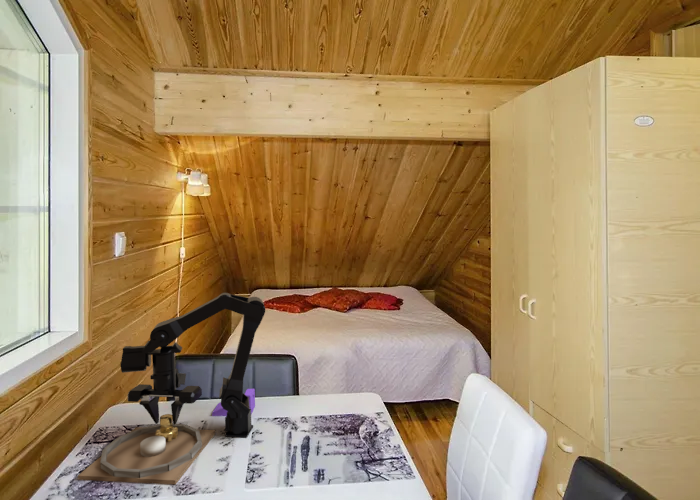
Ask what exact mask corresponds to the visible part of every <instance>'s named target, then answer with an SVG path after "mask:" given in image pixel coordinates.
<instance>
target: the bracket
mask: <svg viewBox="0 0 700 500" xmlns="http://www.w3.org/2000/svg"><path fill="white" fill-rule="evenodd" d="M255 391H256V390H255V388H247V389H246V390H245V393H244V394H245V395H246V396H247V397H249V407H250V409H251V415H252V414H253V412H254V409H255V408H256V392H255ZM227 412H228V411H227V410H225V409H223V407H222V406H221V401H220V402H218V403H217V405H216V406H215V408H214V409H213V411H212V412H211V415H212V417H226V416H227Z"/></svg>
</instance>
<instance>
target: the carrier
mask: <svg viewBox="0 0 700 500" xmlns="http://www.w3.org/2000/svg"><path fill="white" fill-rule="evenodd" d="M173 427H174V428H175V427H177V428H178V435H177V438H174V439H172V441H169V442H168V441H166V440H165V437H163V436H155V434H156V431H157V430H160V424H154V425H150V426H145V427H142V426H141V427H140V426H136V427H134V428H133V429H132V430H131V431H129V432H127V433H125V434H123V435H120V436H118V437H116V438H115V439H114V440H113V441H112V442H110V443H109V444H108V445H107V446H105V447H104V448H103V449H102V450H101V456H100V457H98V458H97V459H96V460H95V461H94V462H92V463H91V464H90V465H89V466H87V467H86V468H85V469H84V470H82V471H81V472H80V474H78V475H77V480H78V481H79V480H80V481H82V480H83V481H97V482H99V481H101V482H115V483H116V482H118V483H120V482H121V483H135V484H136V483H138V484H139V483H140V484H157V485H177V483H178V482H179V480H180V479H182V477H183V476H184V474H185V473H186V472H187V470H189V468H190V467H191V466H192V464H193V463H194V461H196V459H197V458H199V455H201V453H202V452H203V450H205V448H206V447H207V445H208V444H209V443H210V441H211V440H212V439H213V438H214V436H215V435H216V433H217V431H216V430H215V429H197V428H194V427H192V426H190V425H188V424H183V423H176V424H175V425H174V424H173Z"/></svg>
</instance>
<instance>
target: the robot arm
mask: <svg viewBox="0 0 700 500" xmlns="http://www.w3.org/2000/svg"><path fill="white" fill-rule="evenodd" d="M223 310H229V311H231V312H234V313H236V314H239V315H243V316H242V329H241V333H240V338H239V341H238V344H237V348H236V353H235V355H234V360H233V362H232V367H231V371H230V374H229V375H228V378H227V377H224V376H223V377H222V384H221V387H220V388H219V394H218V395H219V396H218V399H219V400H220V402H221V406H222V407H223V409H225V410H227V411H228V412H227V416H224V417H225V418H224V420H225V421H224V422H225V424H224V425H225V430H224V431H225V434H224V436H225V437H229V438H230V437H233V438H247V437H248V436H249V434H250V433H251V432H252V430H253V429H254V425H253V424H252V414H251V409H250V407H249V397H247V396H246V395H245V393H244V378H245V374H246V369H247V366H248V362H249V358H250V355H251V350H252V347H253V342H254V339H255V336H256V335H255V334H256V333H257V330H258V329H259V328H260V327H259V326H260V325H261V323H262V321H263V318H264V316H265V313H266V307H265V304H264V301H263V300H262V298H260V297H258V296H251V297H247V296H242V295H236V294H231V293H228V292H222V293H220V294H219V295H218V296H216V297H214V298H213V299H211V300H209V301H206V302H205V303H203V304H201V305H199V306H197V307H195V308H194V309H192V310H190V311H188V312H186V313H185V314H182V315H180V316H177V317H172V318H169V319H166V320H164V321H160V322H158V323H157V324H156V325H155V326H154V328H153V329H152V330H151V332H150V335H149V340H147V342H146V343H145V344H144V345H137V346H131V345H126V346H124V347H123V348H122V354H121V359H120V360H121V361H120V365H119V366H120V371H121V373H134V372H144V371H146V370H147V367H148V368H149V367H151V364H152V374H151V375H150V378H149V379H150V380H152V383H153V386H152V385H151V384H137V385H136V386H134V387H133V388H131V389H130V390H128V393H127V402H129V403H130V402H131V403H137V402H139V401H140V402H139V405H140V406H141V405H142V406H143V408H144V409H145V411H147V412H148V414H149V416H150V418H151V419H152V420H153V422H154V423H155V424H154V425H159V424H160V411H159V409H160V407H159V401H160V398H174V401H173V402H172V403H171V404H170V407H171V408H170V409H171V415H172V420H173V424H174V425H175V424H178V421H179V417H180V414H181V411H182V408H183V406H184V404H194V403H195V402H196V401H197V400H198V399H200V398H201V397H202V395H203V394H202V393H203V391H202V390H203V389H202V388H201V386H200V385H186V387H184V388H183V389H177V388H180V387H181V385H185V384H186V379H187V378H186V377H187V373H184V372H183V373H179V369H178V368H176V354H177V353H178V354H179V353H181V352H182V351H183V346H181V345H180V344H178V342H177V341H175V340H176V339H178V338H179V337H181V335H182V334H184V333H185V332H186V331H187V330H189V329H190V328H192V327H195V326H196V325H199V323H201V322H203V321H205V320H207V319H209V318H210V317H213V316H215V315H216V314H218V313H220V312H222V311H223ZM174 341H175V342H174ZM173 342H174V343H173ZM172 343H173V344H172ZM171 344H172V345H171Z"/></svg>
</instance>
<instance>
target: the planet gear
mask: <svg viewBox="0 0 700 500" xmlns="http://www.w3.org/2000/svg"><path fill="white" fill-rule="evenodd" d="M159 425H160V430H157V431H156V434H155V436H163V437H165V440H166V441H168V442H169V441H172V439H174V438H177V435H178V428H177V427H175V428H174V427H173V419H172V413H166V414H162V415H161V416H159Z"/></svg>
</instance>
